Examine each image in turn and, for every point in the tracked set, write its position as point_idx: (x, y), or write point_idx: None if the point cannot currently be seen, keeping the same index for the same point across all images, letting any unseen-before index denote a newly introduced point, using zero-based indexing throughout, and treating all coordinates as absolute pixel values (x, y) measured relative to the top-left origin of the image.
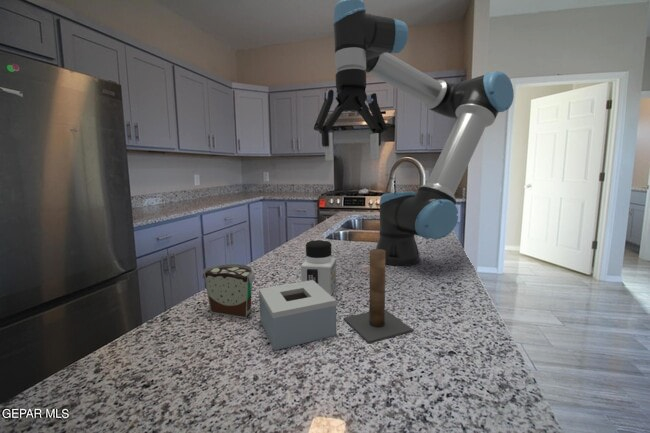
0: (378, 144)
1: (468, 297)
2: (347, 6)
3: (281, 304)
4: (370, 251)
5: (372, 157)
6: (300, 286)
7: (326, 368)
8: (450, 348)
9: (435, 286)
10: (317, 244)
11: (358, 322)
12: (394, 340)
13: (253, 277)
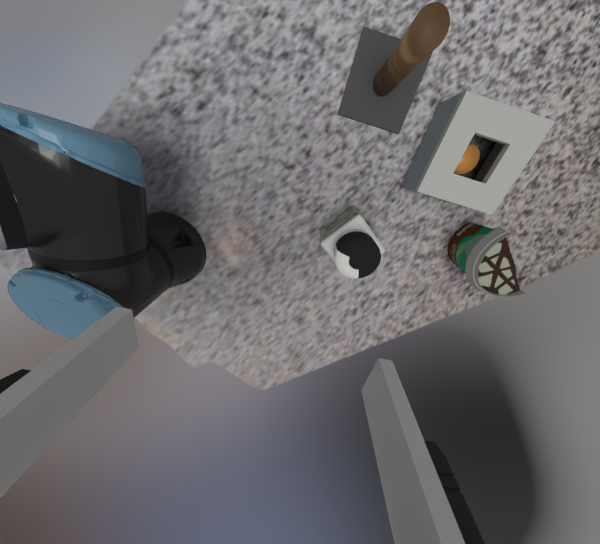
0: (37, 367)
1: (197, 43)
2: None
3: (523, 139)
4: (443, 37)
5: (131, 341)
6: (450, 181)
7: (511, 44)
8: None
9: (206, 119)
10: (372, 247)
11: (397, 106)
12: (402, 30)
13: (489, 237)
